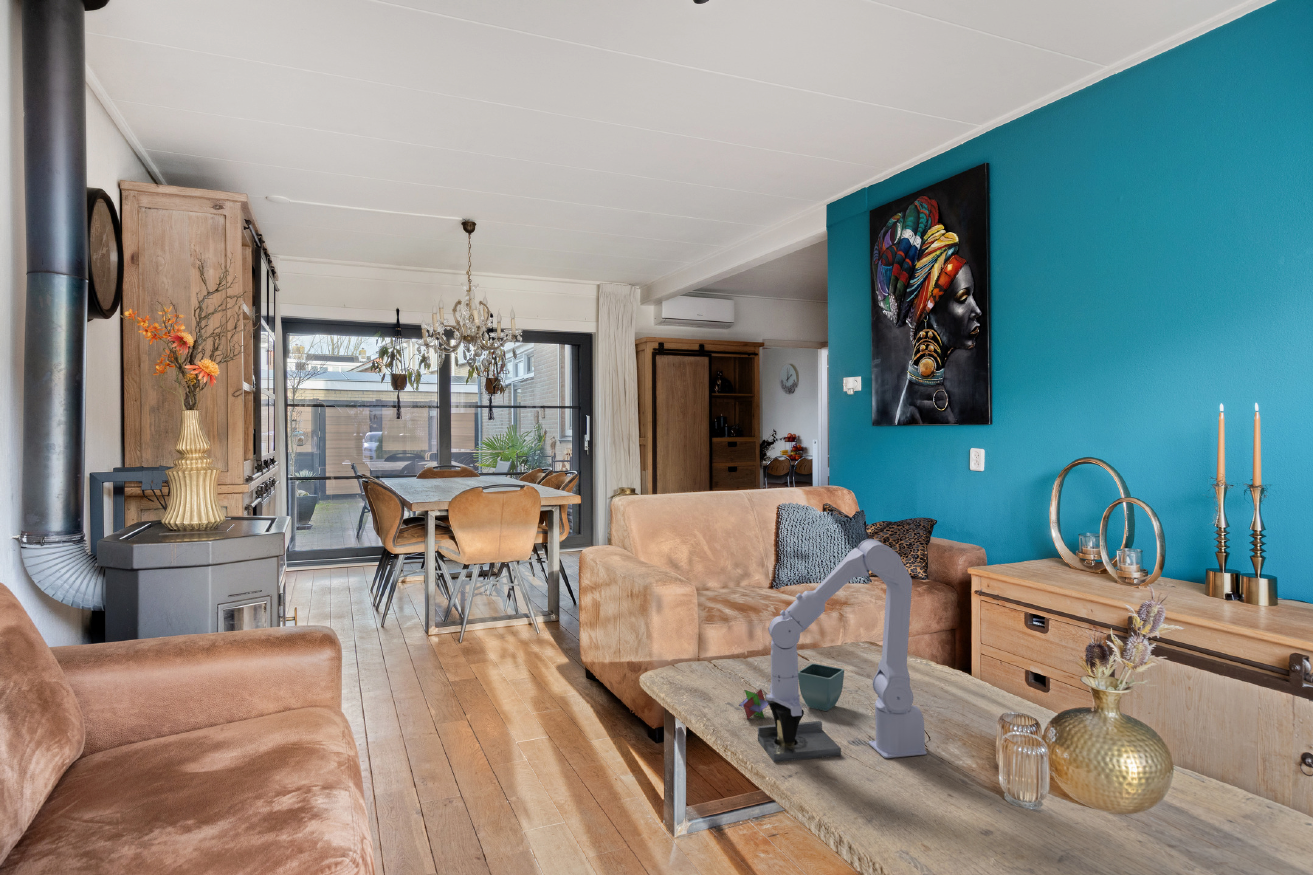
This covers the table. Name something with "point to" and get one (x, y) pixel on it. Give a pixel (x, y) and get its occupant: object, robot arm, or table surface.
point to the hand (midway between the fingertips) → (785, 737)
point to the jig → (799, 743)
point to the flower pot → (821, 685)
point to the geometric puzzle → (754, 703)
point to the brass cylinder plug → (780, 736)
